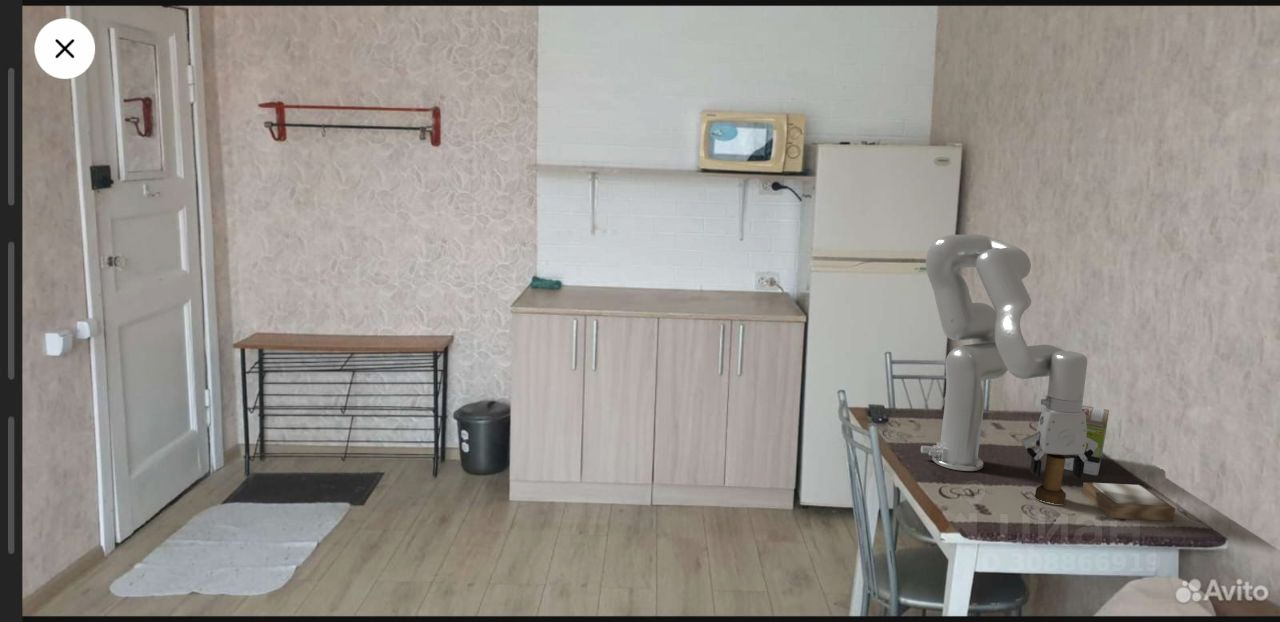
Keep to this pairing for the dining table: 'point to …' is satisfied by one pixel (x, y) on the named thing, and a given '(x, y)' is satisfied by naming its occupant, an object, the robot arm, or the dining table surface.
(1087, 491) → the plinth
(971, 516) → the dining table surface
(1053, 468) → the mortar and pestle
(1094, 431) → the tea box
